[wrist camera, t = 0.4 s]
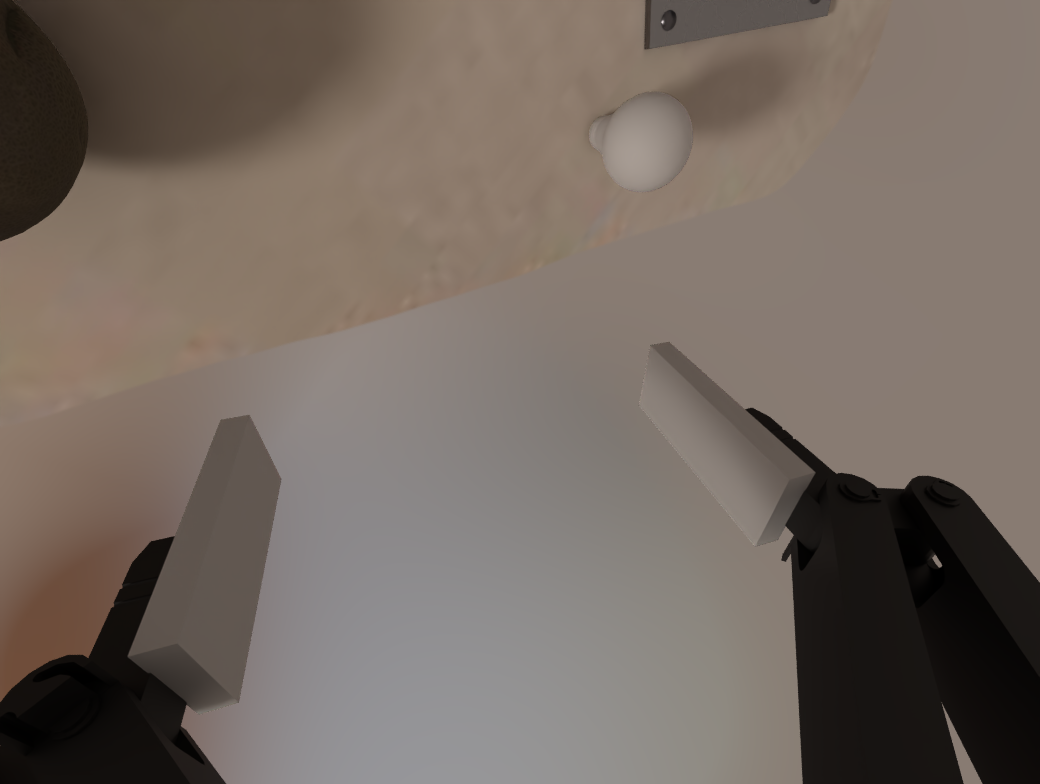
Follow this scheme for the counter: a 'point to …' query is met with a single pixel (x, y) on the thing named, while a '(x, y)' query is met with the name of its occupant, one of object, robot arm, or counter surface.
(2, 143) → the coconut
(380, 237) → the counter surface
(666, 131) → the lightbulb
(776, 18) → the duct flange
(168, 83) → the counter surface
